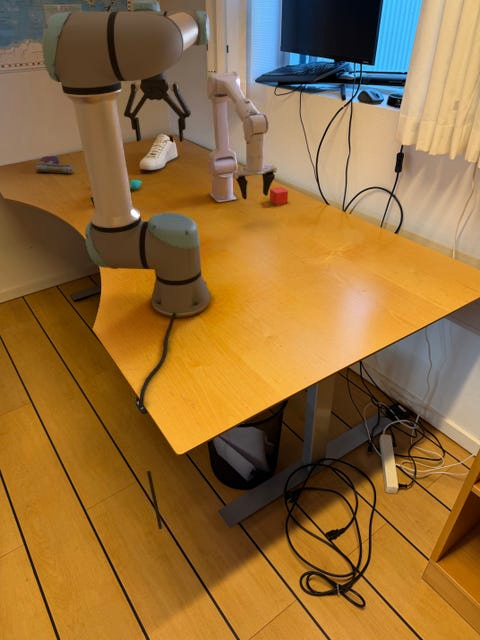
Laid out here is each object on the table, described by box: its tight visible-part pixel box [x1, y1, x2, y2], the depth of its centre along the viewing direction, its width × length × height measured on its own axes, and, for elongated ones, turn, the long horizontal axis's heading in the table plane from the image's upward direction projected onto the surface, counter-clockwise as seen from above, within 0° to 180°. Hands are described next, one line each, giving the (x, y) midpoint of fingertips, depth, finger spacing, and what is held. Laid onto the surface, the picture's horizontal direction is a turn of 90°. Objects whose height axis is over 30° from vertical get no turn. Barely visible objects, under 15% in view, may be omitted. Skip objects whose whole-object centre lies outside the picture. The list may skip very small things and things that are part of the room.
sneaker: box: [139, 133, 179, 171], centre depth 214 cm, size 10×29×12 cm, turn 163°
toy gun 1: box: [34, 155, 74, 174], centre depth 213 cm, size 4×19×15 cm
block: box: [269, 186, 289, 206], centre depth 179 cm, size 5×5×5 cm
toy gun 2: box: [90, 179, 143, 206], centre depth 186 cm, size 4×26×15 cm
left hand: (160, 140), depth 150 cm, fingers open, 13 cm apart
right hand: (254, 196), depth 159 cm, fingers open, 7 cm apart
